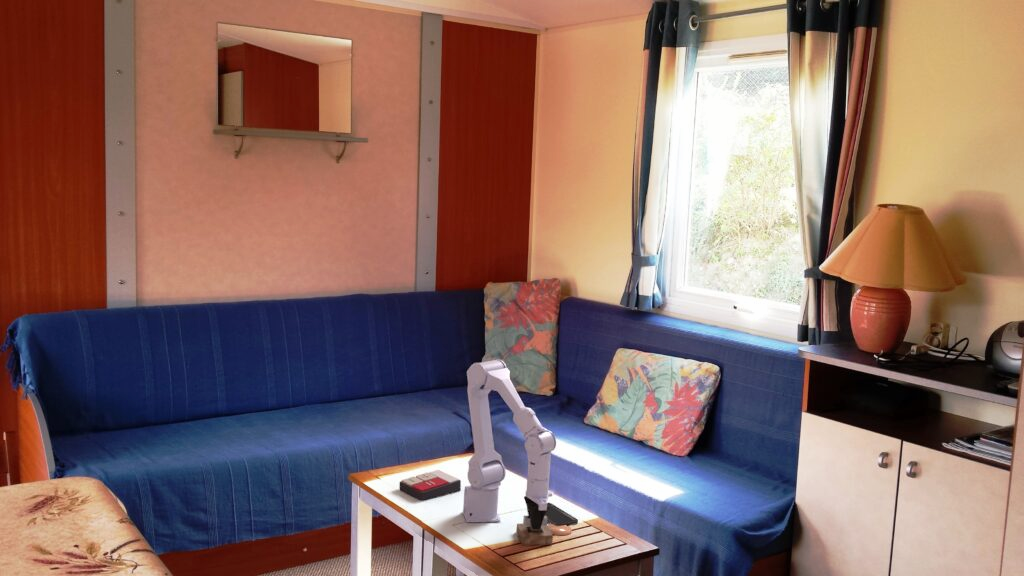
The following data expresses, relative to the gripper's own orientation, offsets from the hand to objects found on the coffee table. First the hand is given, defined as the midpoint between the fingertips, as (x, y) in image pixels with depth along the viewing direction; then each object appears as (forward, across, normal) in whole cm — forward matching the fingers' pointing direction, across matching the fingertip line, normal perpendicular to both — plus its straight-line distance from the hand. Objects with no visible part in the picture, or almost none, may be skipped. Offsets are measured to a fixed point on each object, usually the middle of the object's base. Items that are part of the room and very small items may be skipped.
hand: (534, 526), depth 236 cm
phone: (+4, +15, -9) cm, 18 cm away
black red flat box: (+4, +36, +24) cm, 43 cm away
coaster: (+3, +5, -8) cm, 10 cm away
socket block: (+3, 0, 0) cm, 3 cm away
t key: (+3, 0, 0) cm, 3 cm away
